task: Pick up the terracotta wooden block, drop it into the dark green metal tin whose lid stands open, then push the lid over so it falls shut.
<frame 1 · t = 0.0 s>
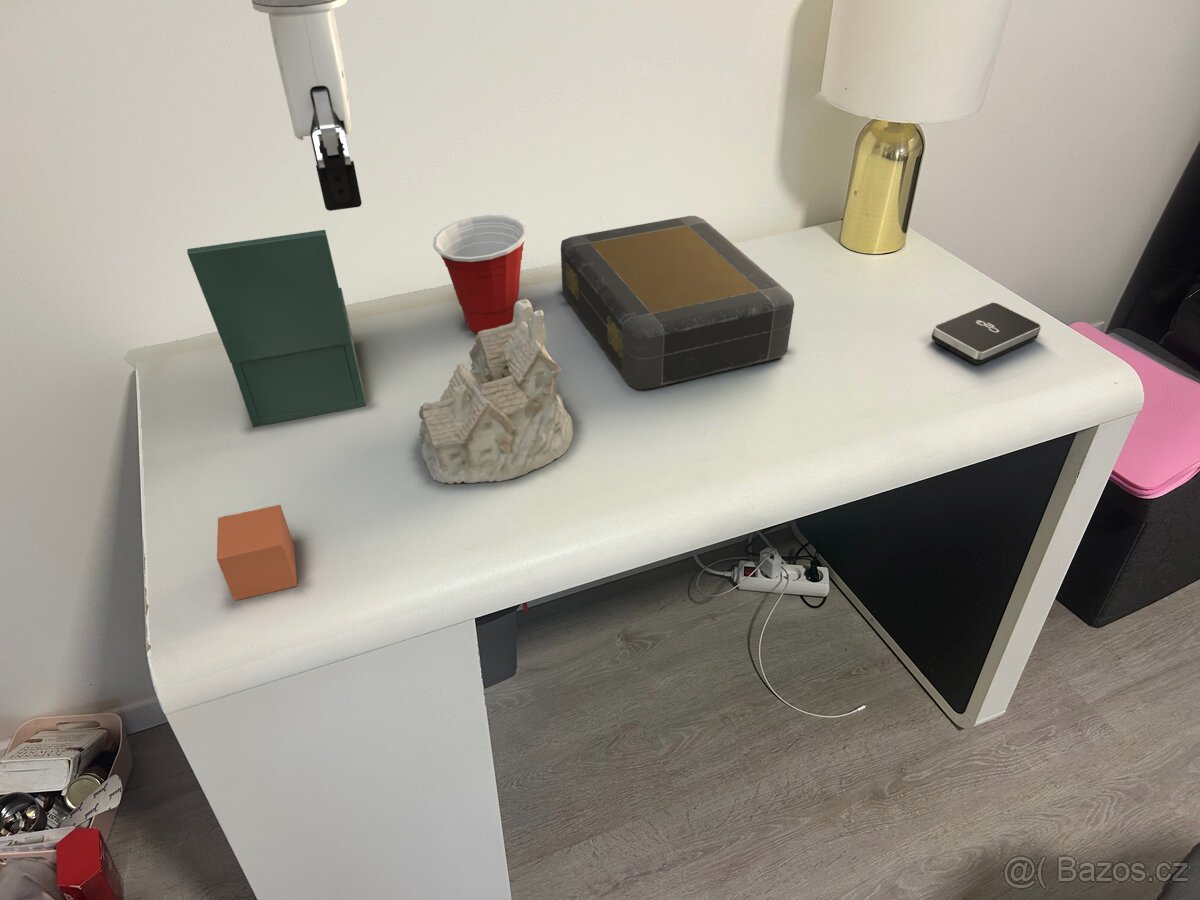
hand: (339, 187, 80), 22 cm above the table, tool pointing down, fingers open, 9 cm apart
lid: (275, 299, 79), point 15 cm above the table, hinge at 102.0°
plastic cup: (489, 325, 104), on the table
ceramic cottage: (495, 431, 87), on the table
external hard drive: (982, 342, 100), on the table
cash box: (670, 324, 104), on the table
tin: (307, 384, 94), on the table
block: (265, 572, 72), on the table
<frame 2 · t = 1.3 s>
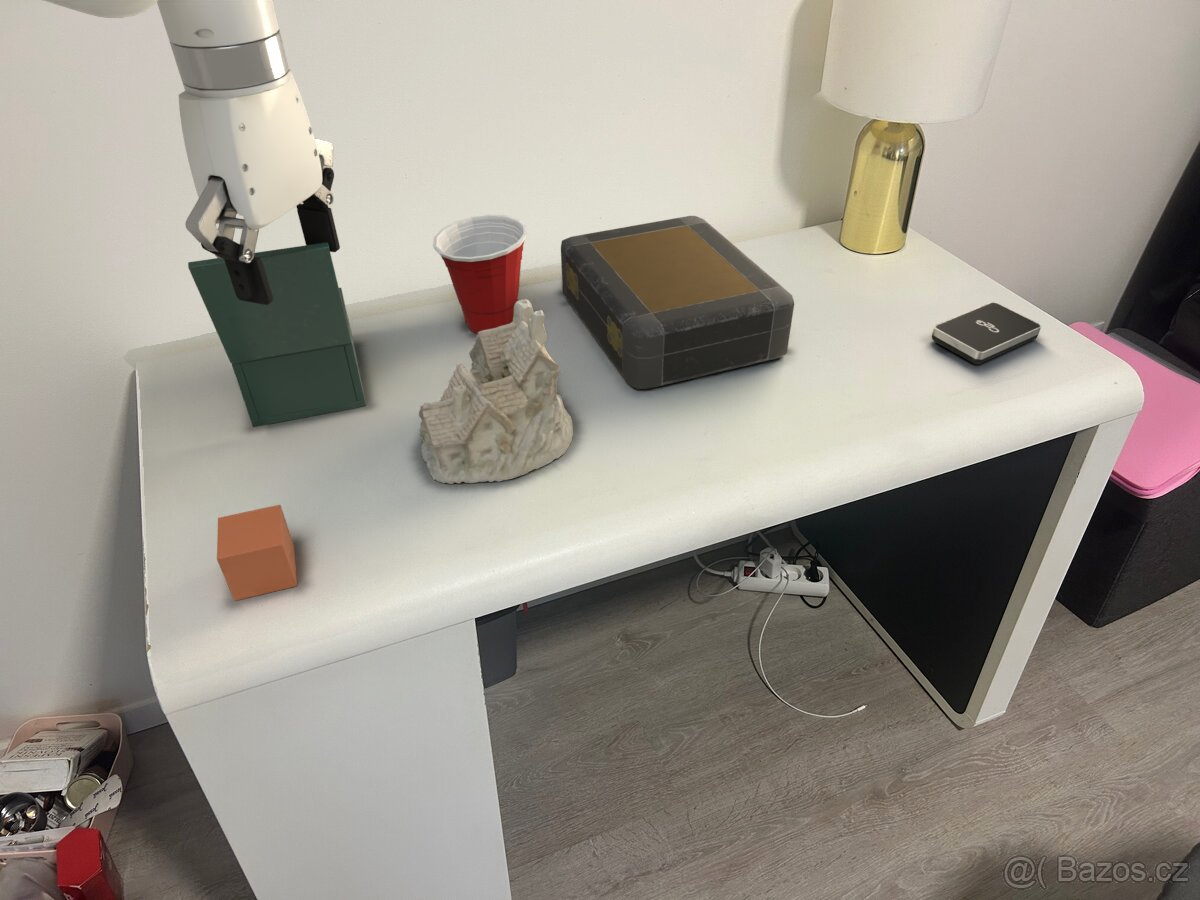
hand: (291, 273, 73), 20 cm above the table, tool pointing down, fingers open, 9 cm apart
lid: (276, 305, 79), point 14 cm above the table, hinge at 109.8°, touching gripper
everything else where it was.
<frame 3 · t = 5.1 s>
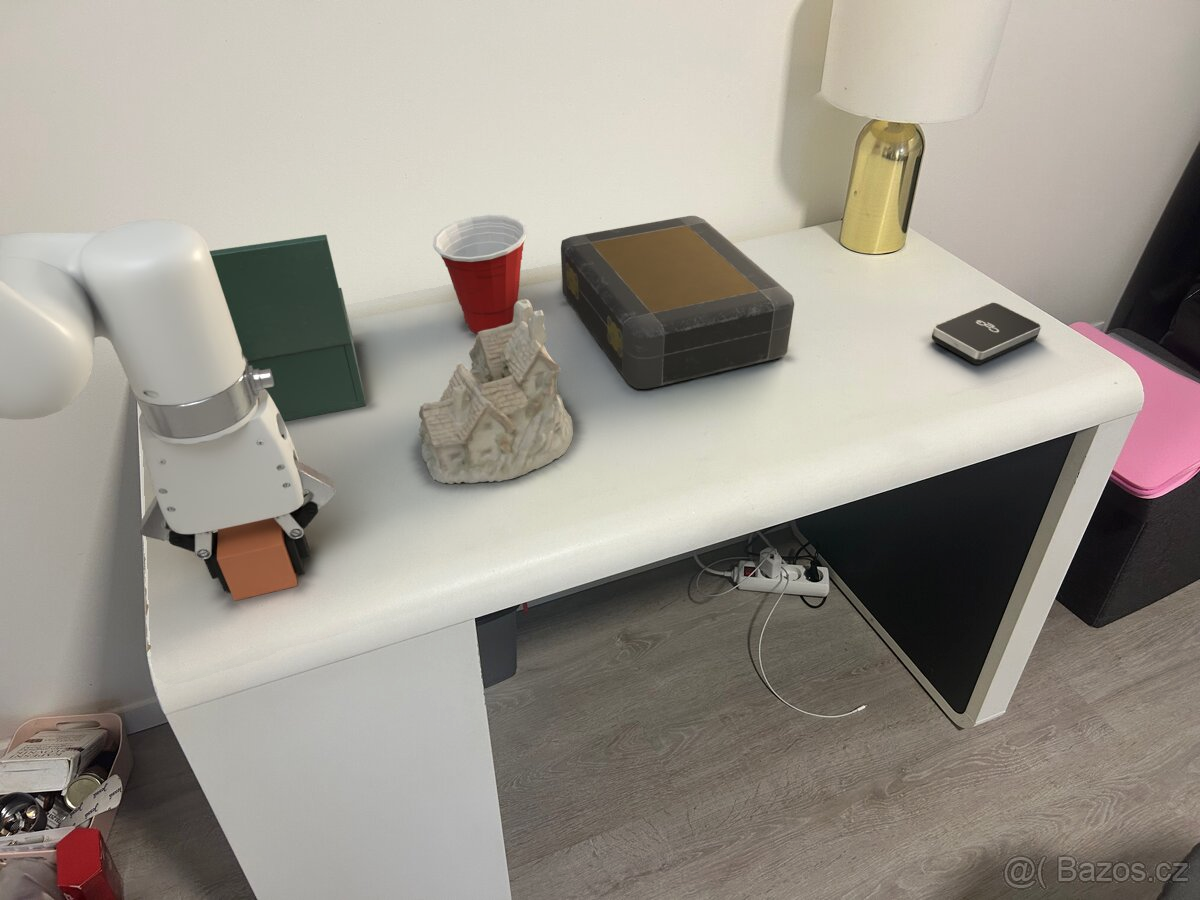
hand: (264, 569, 72), 0 cm above the table, tool pointing down, fingers closed on block, 5 cm apart
lid: (276, 301, 79), point 15 cm above the table, hinge at 105.1°
block: (265, 572, 72), on the table, touching gripper
everything else where it was.
when the fingers open (7 cm above the table, at t = 14.3 s): block drops 6 cm, resting on tin.
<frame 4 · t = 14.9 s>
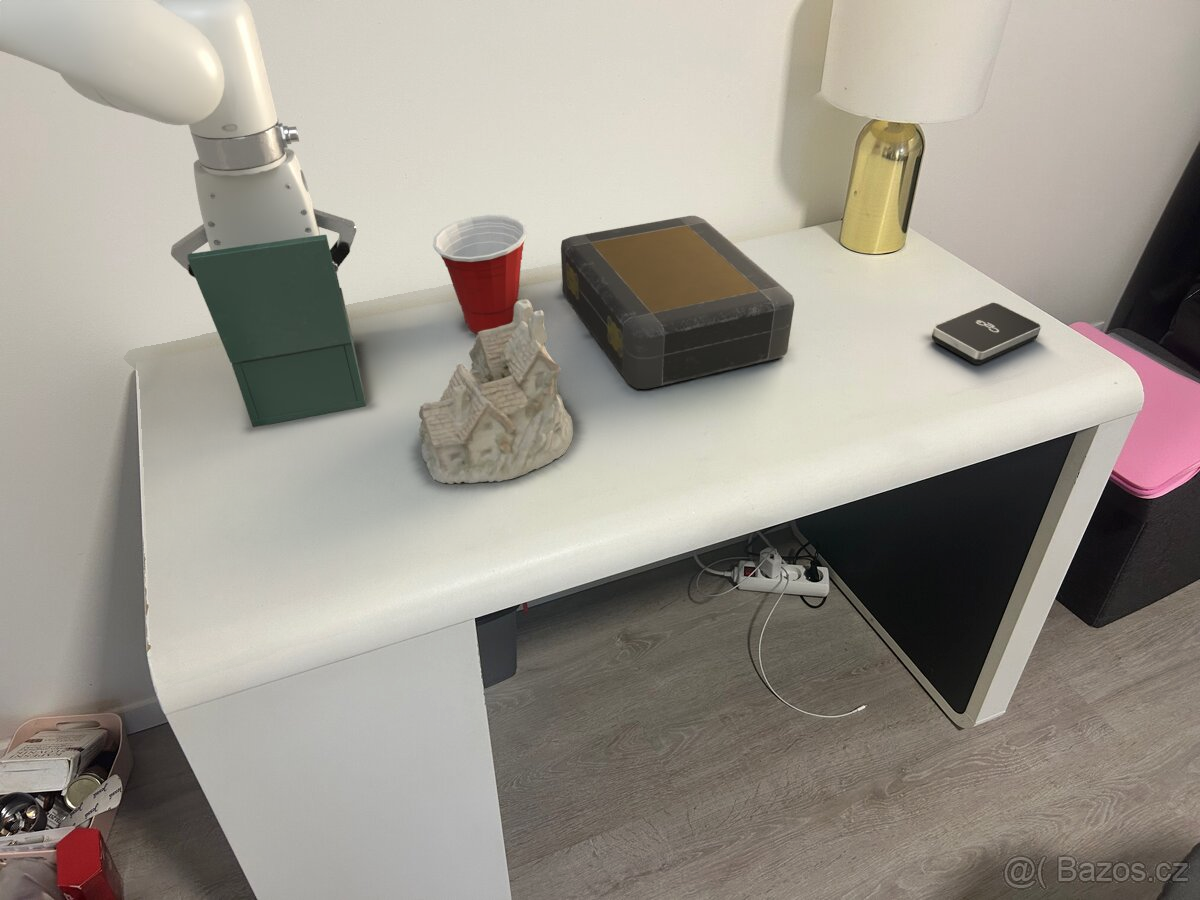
hand: (285, 311, 88), 9 cm above the table, tool pointing down, fingers open, 9 cm apart
block: (304, 378, 93), point 1 cm above the table, touching tin
everything else where it was.
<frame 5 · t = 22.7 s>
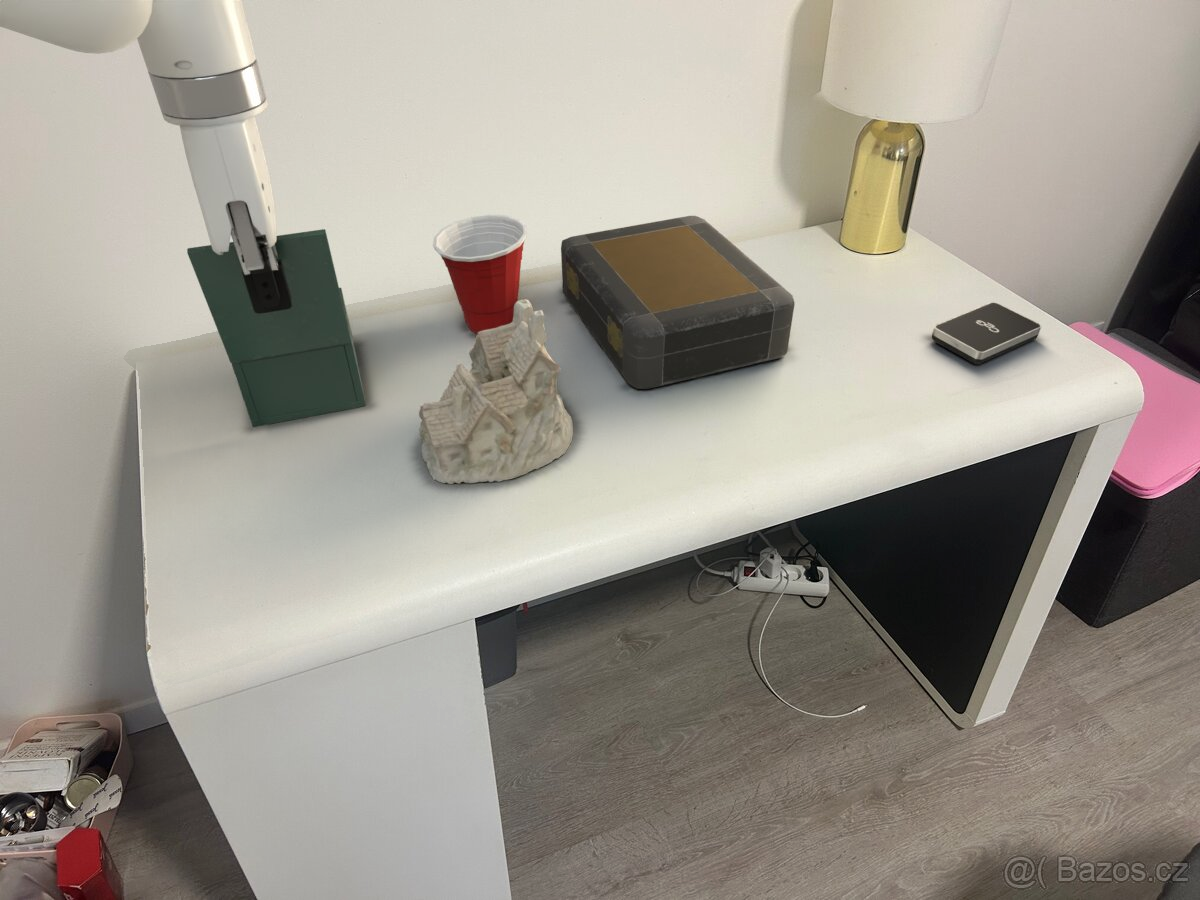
hand: (273, 306, 75), 16 cm above the table, tool pointing down, fingers closed
lid: (275, 299, 79), point 15 cm above the table, hinge at 101.6°
everything else where it was.
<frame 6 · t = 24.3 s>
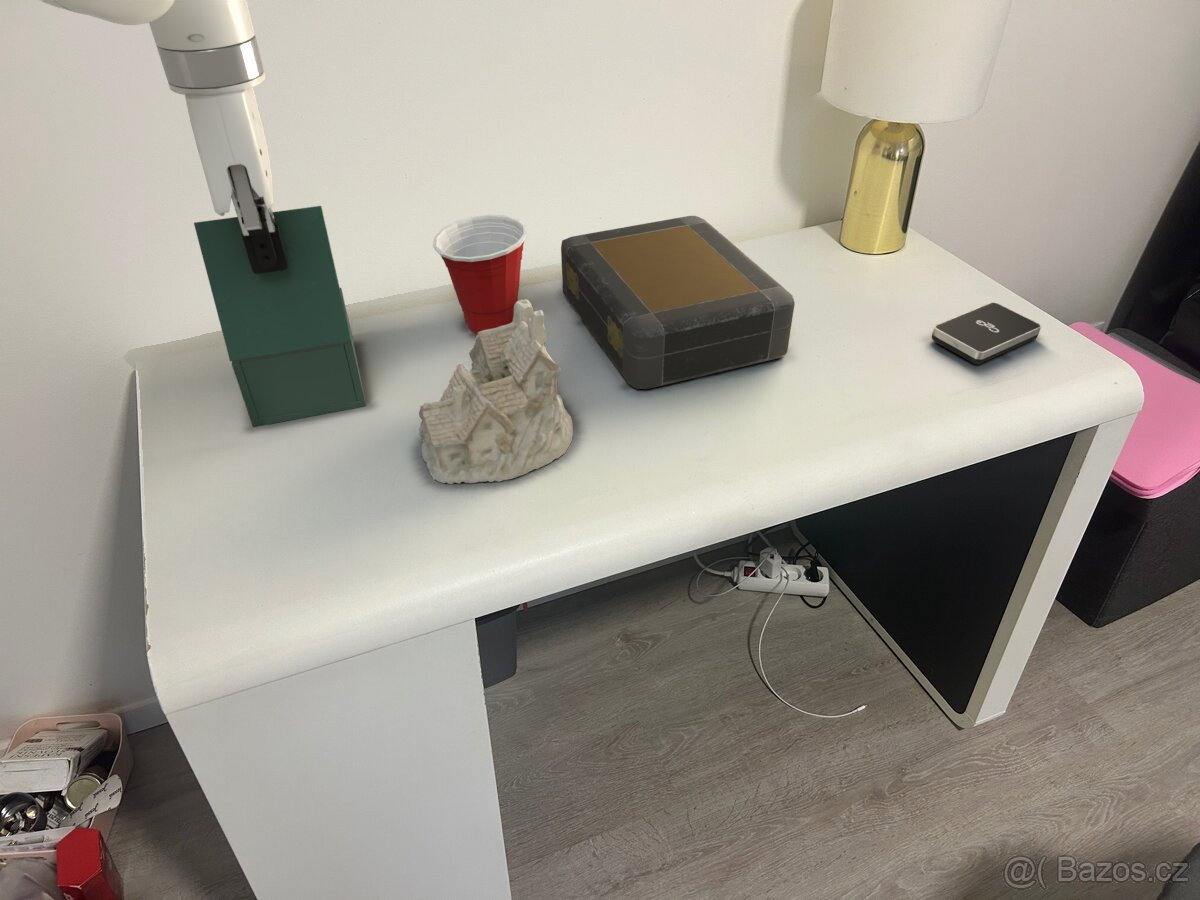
hand: (270, 267, 81), 16 cm above the table, tool pointing down, fingers closed
lid: (275, 283, 82), point 14 cm above the table, hinge at 65.6°, touching gripper
everything else where it was.
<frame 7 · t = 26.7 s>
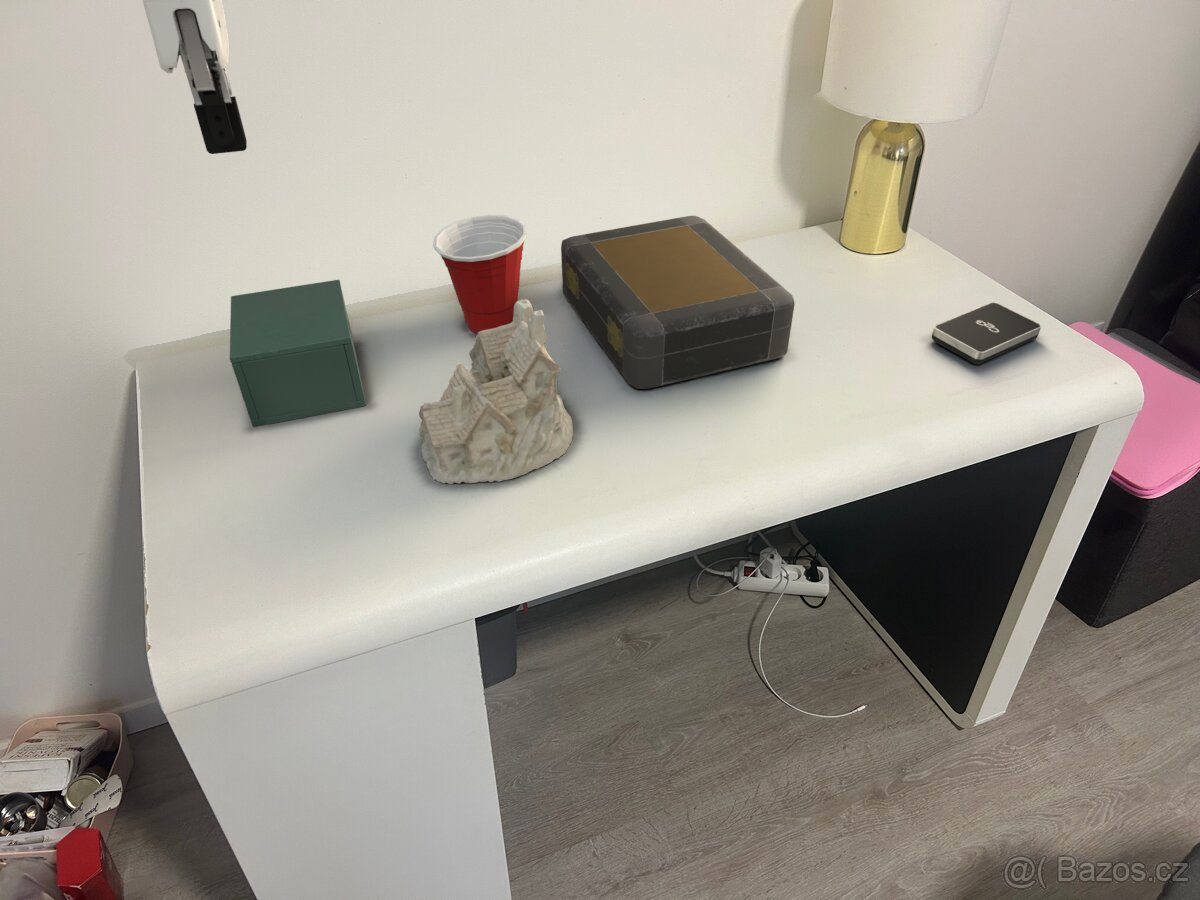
hand: (227, 148, 72), 28 cm above the table, tool pointing down, fingers closed
lid: (289, 318, 89), point 8 cm above the table, hinge at -0.2°
everything else where it was.
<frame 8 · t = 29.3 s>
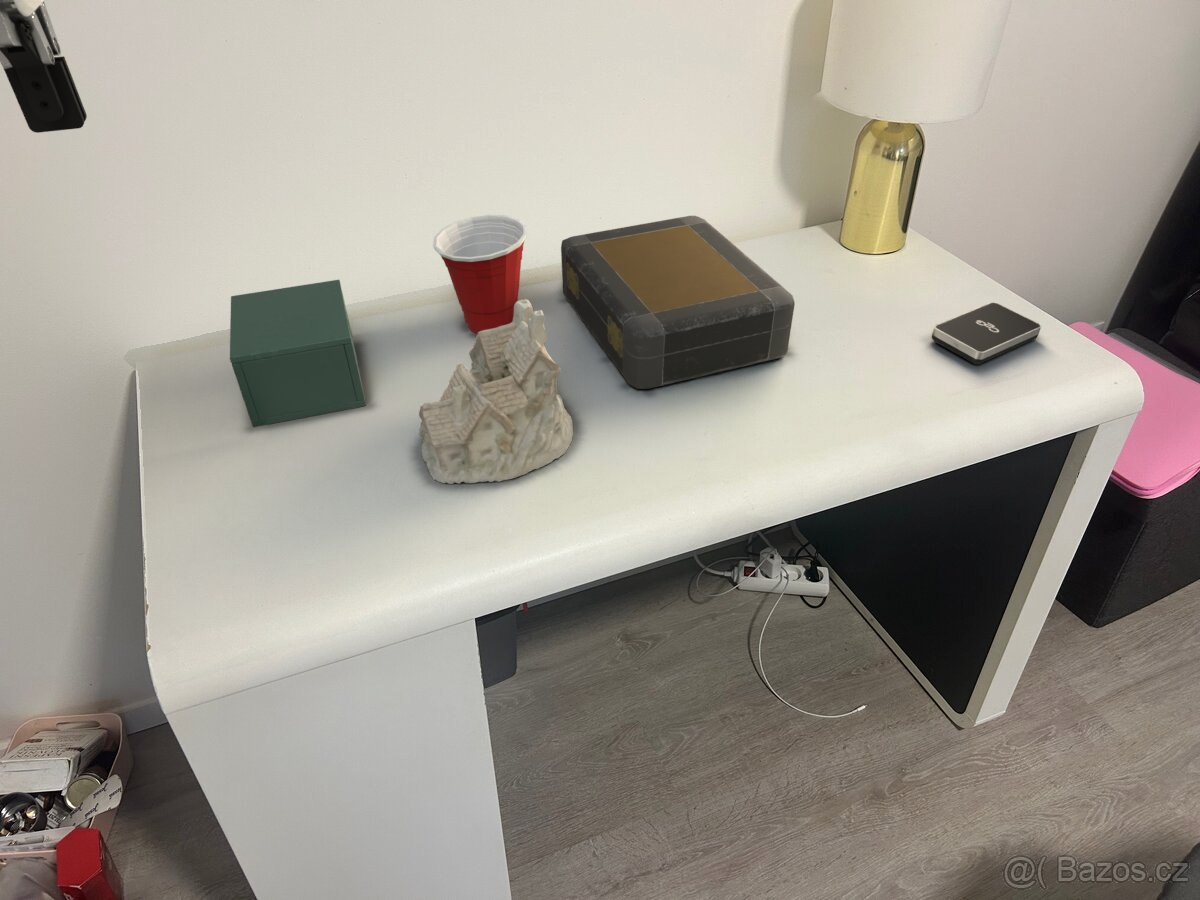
hand: (60, 125, 56), 35 cm above the table, tool pointing down, fingers closed
nothing on the table moved.
at the end: block inside the target area in the tin (0.1 cm from its centre), point 0.8 cm above the tin's base; lid at +0° (first picture: +102°) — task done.
